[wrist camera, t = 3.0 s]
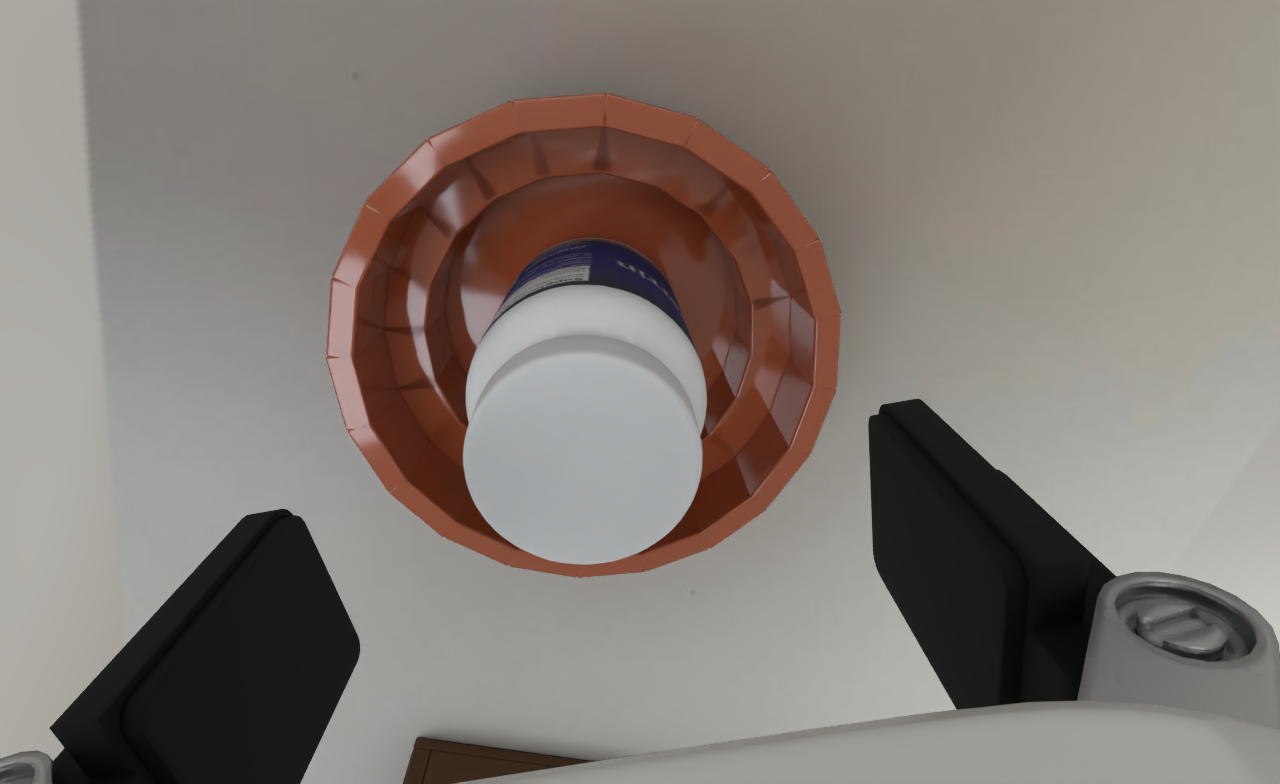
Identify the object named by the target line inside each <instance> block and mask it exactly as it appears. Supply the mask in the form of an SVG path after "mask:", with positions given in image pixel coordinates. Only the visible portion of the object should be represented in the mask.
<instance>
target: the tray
mask: <svg viewBox="0 0 1280 784" xmlns="http://www.w3.org/2000/svg"><path fill="white" fill-rule="evenodd" d="M589 762H590V761H583V760H576V759H568V758H561V757H554V756H546V755H539V754H532V753H525V752H517V751H510V750H503V749H495V748H488V747H481V746H473V745H466V744H459V743H452V742H444V741H437V740H430V739H422V738H417V739H416V741H415V745H414V749H413V752H412V755H411V758H410V761H409V765H408V768H407V771H406V775H405V778H404V781H403V784H454V783H460V782H466V781H473V780H479V779H486V778H492V777H498V776H505V775H511V774H518V773H524V772H531V771H537V770H544V769H550V768H557V767H563V766H570V765H576V764H583V763H589Z"/></svg>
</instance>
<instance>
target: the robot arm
mask: <svg viewBox="0 0 1280 784" xmlns="http://www.w3.org/2000/svg"><path fill="white" fill-rule="evenodd" d="M869 452H870V479H871V507H872V534H873V554H874V560H875V564H876V567H877V570H878V572H879V574H880V576H881V578H882V580H883V582H884V583H885V585H886V587H887V589H888V590H889V592H890V594H891V596H892V597H893V599H894V601H895V603H896V604H897V606H898V608H899V610H900V611H901V613H902V615H903V617H904V618H905V620H906V622H907V624H908V625H909V627H910V629H911V631H912V632H913V634H914V636H915V638H916V639H917V641H918V643H919V645H920V646H921V648H922V650H923V652H924V653H925V655H926V657H927V658H928V660H929V662H930V664H931V665H932V667H933V669H934V671H935V672H936V674H937V676H938V678H939V679H940V681H941V683H942V685H943V686H944V688H945V690H946V692H947V693H948V695H949V697H950V699H951V700H952V702H953V704H954V706H955V707H956V709H957V710H950V711H942V712H933V713H925V714H916V715H909V716H902V717H895V718H888V719H882V720H875V721H868V722H860V723H853V724H845V725H838V726H830V727H823V728H816V729H809V730H803V731H796V732H789V733H782V734H776V735H769V736H762V737H756V738H749V739H742V740H736V741H729V742H722V743H715V744H709V745H702V746H695V747H689V748H682V749H675V750H669V751H662V752H655V753H648V754H642V755H635V756H628V757H622V758H615V759H609V760H602V761H596V762H589V763H583V764H576V765H570V766H563V767H557V768H550V769H544V770H537V771H531V772H524V773H518V774H511V775H505V776H498V777H492V778H486V779H479V780H473V781H466V782H460V783H454V784H1280V652H1279V643H1278V641H1277V638H1276V635H1275V633H1274V630H1273V628H1272V627H1271V625H1270V624H1269V623H1268V622H1267V621H1266V620H1265V619H1264V618H1263V617H1262V615H1261V614H1260V613H1259V612H1258V611H1257V610H1255V609H1254V608H1252V607H1251V606H1250V605H1248V604H1247V603H1245V602H1244V601H1242V600H1241V599H1240V598H1238V597H1237V596H1235V595H1233V594H1231V593H1229V592H1226V591H1224V590H1222V589H1220V588H1218V587H1216V586H1214V585H1212V584H1209V583H1206V582H1202V581H1199V580H1196V579H1193V578H1189V577H1186V576H1181V575H1175V574H1169V573H1162V572H1134V573H1130V574H1126V575H1121V576H1117V577H1116V576H1115V575H1114V574H1113V573H1112V572H1111V571H1110V570H1109V569H1108V568H1107V567H1105V566H1104V565H1103V564H1102V563H1101V562H1100V561H1099V560H1098V559H1097V558H1096V557H1095V556H1094V555H1092V554H1091V553H1090V552H1089V551H1088V550H1087V549H1086V548H1085V547H1084V546H1083V545H1082V544H1081V543H1079V542H1078V541H1077V540H1076V539H1075V538H1074V537H1073V536H1072V535H1071V534H1070V533H1069V532H1068V531H1067V530H1065V529H1064V528H1063V527H1062V526H1061V525H1060V524H1059V523H1058V522H1057V521H1056V520H1055V519H1054V518H1052V517H1051V516H1050V515H1049V514H1048V513H1047V512H1046V511H1045V510H1044V509H1043V508H1042V507H1041V506H1039V505H1038V504H1037V503H1036V502H1035V501H1034V500H1033V499H1032V498H1031V497H1030V496H1029V495H1028V494H1026V493H1025V492H1024V491H1023V490H1022V489H1021V488H1020V487H1019V486H1018V485H1017V484H1016V483H1015V482H1013V481H1012V480H1011V479H1010V478H1009V477H1008V476H1007V475H1006V474H1004V473H1003V472H1001V471H1000V470H996V469H995V468H994V467H993V466H992V465H990V464H989V463H988V462H987V461H986V460H985V459H984V458H983V457H982V456H981V455H980V454H979V453H978V452H977V451H976V450H974V449H973V448H972V447H971V446H970V445H969V444H968V443H967V442H966V441H965V440H964V439H963V438H962V437H961V436H959V435H958V434H957V433H956V432H955V431H954V430H953V429H952V428H951V427H950V426H949V425H948V424H947V423H946V422H945V421H943V420H942V419H941V418H940V417H939V416H938V415H937V414H936V413H935V412H934V411H933V410H932V409H931V408H930V407H928V406H927V405H926V404H925V403H924V402H923V401H922V400H920V399H913V400H907V401H901V402H895V403H890V404H884V405H882V406H881V407H880V410H879V415H873V416H871V417H870V418H869ZM359 654H360V642H359V638H358V635H357V633H356V631H355V629H354V627H353V624H352V622H351V620H350V618H349V616H348V614H347V612H346V609H345V607H344V605H343V603H342V601H341V599H340V597H339V594H338V592H337V590H336V588H335V586H334V584H333V582H332V579H331V577H330V575H329V573H328V571H327V569H326V567H325V564H324V562H323V560H322V558H321V556H320V554H319V552H318V550H317V547H316V545H315V543H314V541H313V539H312V537H311V535H310V532H309V530H308V528H307V526H306V524H305V522H304V521H303V519H302V518H301V517H299V516H296V515H295V516H293V514H292V513H291V512H290V511H288V510H285V509H279V510H274V511H268V512H262V513H256V514H251V515H247V516H245V517H244V518H243V519H241V521H240V522H239V523H238V524H237V525H236V526H235V527H234V528H233V529H232V530H231V531H230V533H229V534H228V535H227V536H226V537H225V538H224V539H223V540H222V541H221V542H220V543H219V544H218V546H217V547H216V548H215V549H214V550H213V551H212V552H211V553H210V554H209V555H208V556H207V558H206V559H205V560H204V561H203V562H202V563H201V564H200V565H199V566H198V567H197V568H196V569H195V571H194V572H193V573H192V574H191V575H190V576H189V577H188V578H187V579H186V580H185V581H184V582H183V584H182V585H181V586H180V587H179V588H178V589H177V590H176V591H175V592H174V593H173V594H172V596H171V597H170V598H169V599H168V600H167V601H166V602H165V603H164V604H163V605H162V606H161V607H160V609H159V610H158V611H157V612H156V613H155V614H154V615H153V616H152V617H151V618H150V619H149V621H148V622H147V623H146V624H145V625H144V626H143V627H142V628H141V629H140V630H139V631H138V632H137V634H136V635H135V636H134V637H133V638H132V639H131V640H130V641H129V642H128V643H127V644H126V646H125V647H124V648H123V649H122V650H121V651H120V652H119V653H118V654H117V655H116V656H115V658H114V659H113V660H112V661H111V662H110V663H109V664H108V665H107V666H106V667H105V668H104V669H103V670H102V672H101V673H100V674H99V675H98V676H97V677H96V678H95V679H94V680H93V682H91V684H90V685H89V686H88V687H87V688H86V689H85V690H84V691H83V692H82V693H81V694H80V695H79V697H78V698H77V699H76V700H75V701H74V702H73V703H72V704H71V705H70V706H69V708H68V709H67V710H66V711H65V712H64V713H63V714H62V715H61V716H60V717H59V718H58V719H57V721H56V722H55V723H54V724H53V725H52V726H51V727H50V729H51V731H52V732H53V733H54V734H55V736H56V737H57V738H58V740H59V741H60V742H61V743H62V745H63V746H64V747H65V748H64V749H63V751H62V752H61V753H60V754H59V755H58V757H57V758H56V759H55V760H54V761H52V759H51V758H50V757H49V756H48V755H47V754H45V753H42V752H39V751H28V752H20V753H17V754H13V755H10V756H7V757H4V758H1V759H0V784H300V783H301V780H302V778H303V776H304V774H305V772H306V770H307V768H308V766H309V763H310V761H311V759H312V757H313V755H314V753H315V751H316V749H317V746H318V744H319V742H320V740H321V738H322V736H323V734H324V732H325V729H326V727H327V725H328V723H329V721H330V719H331V717H332V715H333V712H334V710H335V708H336V706H337V704H338V702H339V700H340V698H341V695H342V693H343V691H344V689H345V687H346V685H347V683H348V681H349V678H350V676H351V674H352V672H353V670H354V668H355V666H356V664H357V661H358V658H359Z"/></svg>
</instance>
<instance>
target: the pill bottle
mask: <svg viewBox="0 0 1280 784" xmlns="http://www.w3.org/2000/svg"><path fill="white" fill-rule="evenodd" d="M706 407H707V392H706V383H705V377H704V373H703V369H702V365H701V362H700V359H699V356H698V353H697V351H696V348H695V346H694V343H693V341H692V339H691V336H690V334H689V331H688V329H687V325H686V323H685V321H684V318H683V315H682V313H681V310H680V308H679V305H678V302H677V300H676V297H675V295H674V293H673V290H672V288H671V286H670V284H669V282H668V281H667V279H666V277H665V276H664V274H663V273H662V272H661V270H660V269H659V268H658V267H657V266H656V265H655V264H654V263H653V262H652V261H651V260H650V259H649V258H648V257H646V256H645V255H644V254H642V253H641V252H639V251H638V250H636V249H634V248H633V247H631V246H629V245H626V244H624V243H621V242H618V241H614V240H610V239H604V238H579V239H573V240H569V241H565V242H562V243H559V244H557V245H554V246H552V247H550V248H548V249H547V250H545V251H543V252H542V253H541V254H539V255H538V256H537V257H535V258H534V259H533V260H532V261H531V262H530V263H529V264H528V265H527V266H526V267H525V268H524V269H523V270H522V272H521V273H520V274H519V276H518V277H517V278H516V280H515V281H514V283H513V285H512V287H511V288H510V290H509V291H508V293H507V295H506V297H505V299H504V300H503V302H502V304H501V306H500V307H499V309H498V311H497V313H496V314H495V316H494V318H493V320H492V321H491V323H490V325H489V327H488V329H487V330H486V332H485V334H484V335H483V337H482V339H481V341H480V343H479V345H478V347H477V349H476V352H475V354H474V357H473V359H472V362H471V365H470V369H469V373H468V377H467V383H466V410H467V417H468V422H469V424H468V428H467V431H466V435H465V441H464V447H463V466H464V473H465V479H466V483H467V486H468V489H469V492H470V494H471V497H472V499H473V501H474V503H475V505H476V507H477V508H478V510H479V511H480V513H481V514H482V516H483V517H484V518H485V520H486V521H487V522H488V523H489V524H490V525H491V527H492V528H493V529H494V530H495V531H496V532H498V533H499V534H500V535H501V536H502V537H504V538H505V539H506V540H508V541H509V542H511V543H512V544H514V545H515V546H517V547H519V548H520V549H522V550H524V551H527V552H529V553H531V554H533V555H536V556H538V557H541V558H544V559H547V560H549V561H555V562H560V563H568V564H583V565H587V564H599V563H606V562H612V561H616V560H619V559H623V558H626V557H629V556H632V555H634V554H637V553H639V552H641V551H643V550H645V549H647V548H648V547H650V546H651V545H653V544H655V543H656V542H657V541H659V540H660V539H662V538H663V537H664V536H666V535H667V534H668V533H669V532H670V531H671V530H672V529H673V528H674V527H675V526H676V525H677V524H678V523H679V522H680V520H681V519H682V518H683V516H684V515H685V513H686V512H687V510H688V508H689V507H690V505H691V503H692V501H693V499H694V497H695V494H696V492H697V489H698V485H699V482H700V478H701V473H702V457H703V451H702V442H701V438H700V435H701V433H702V429H703V426H704V421H705V416H706Z"/></svg>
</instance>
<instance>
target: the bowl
mask: <svg viewBox="0 0 1280 784" xmlns="http://www.w3.org/2000/svg"><path fill="white" fill-rule="evenodd" d="M579 238H604V239H610V240H614V241H618V242H621V243H624V244H626V245H629V246H631V247H633V248H634V249H636V250H638V251H639V252H641V253H642V254H644V255H645V256H646V257H648V258H649V259H650V260H651V261H652V262H653V263H654V264H655V265H656V266H657V267H658V268H659V269H660V270H661V272H662V273H663V274H664V276H665V277H666V279H667V281H668V282H669V284H670V286H671V288H672V290H673V293H674V295H675V297H676V300H677V302H678V305H679V308H680V310H681V313H682V315H683V318H684V321H685V323H686V325H687V329H688V331H689V334H690V336H691V339H692V341H693V343H694V346H695V348H696V351H697V353H698V356H699V359H700V362H701V365H702V369H703V373H704V377H705V383H706V392H707V407H706V416H705V421H704V426H703V429H702V433H701V435H700V438H701V442H702V451H703V457H702V473H701V478H700V482H699V485H698V489H697V492H696V494H695V497H694V499H693V501H692V503H691V505H690V507H689V508H688V510H687V512H686V513H685V515H684V516H683V518H682V519H681V520H680V522H679V523H678V524H677V525H676V526H675V527H674V528H673V529H672V530H671V531H670V532H669V533H668V534H667V535H666V536H664V537H663V538H662V539H660V540H659V541H657V542H656V543H655V544H653V545H651V546H650V547H648V548H647V549H645V550H643V551H641V552H639V553H637V554H634V555H632V556H629V557H626V558H623V559H619V560H616V561H612V562H606V563H599V564H587V565H583V564H568V563H560V562H555V561H549V560H547V559H544V558H541V557H538V556H536V555H533V554H531V553H529V552H527V551H524V550H522V549H520V548H519V547H517V546H515V545H514V544H512V543H511V542H509V541H508V540H506V539H505V538H504V537H502V536H501V535H500V534H499V533H498V532H496V531H495V530H494V529H493V528H492V527H491V525H490V524H489V523H488V522H487V521H486V520H485V518H484V517H483V516H482V514H481V513H480V511H479V510H478V508H477V507H476V505H475V503H474V501H473V499H472V497H471V494H470V492H469V489H468V486H467V483H466V479H465V473H464V466H463V447H464V441H465V435H466V431H467V428H468V424H469V422H468V417H467V410H466V383H467V377H468V373H469V369H470V365H471V362H472V359H473V357H474V354H475V352H476V349H477V347H478V345H479V343H480V341H481V339H482V337H483V335H484V334H485V332H486V330H487V329H488V327H489V325H490V323H491V321H492V320H493V318H494V316H495V314H496V313H497V311H498V309H499V307H500V306H501V304H502V302H503V300H504V299H505V297H506V295H507V293H508V291H509V290H510V288H511V287H512V285H513V283H514V281H515V280H516V278H517V277H518V276H519V274H520V273H521V272H522V270H523V269H524V268H525V267H526V266H527V265H528V264H529V263H530V262H531V261H532V260H533V259H534V258H535V257H537V256H538V255H539V254H541V253H542V252H543V251H545V250H547V249H548V248H550V247H552V246H554V245H557V244H559V243H562V242H565V241H569V240H573V239H579ZM332 277H333V278H332V280H331V289H330V305H329V321H328V337H327V357H326V360H327V363H328V367H329V370H330V374H331V377H332V381H333V384H334V388H335V391H336V395H337V398H338V402H339V405H340V409H341V412H342V416H343V419H344V423H345V426H346V429H347V430H348V433H349V434H350V436H351V437H352V439H353V440H354V442H355V443H356V445H357V446H358V448H359V449H360V451H361V452H362V454H363V455H364V457H365V458H366V460H367V461H368V463H369V464H370V466H371V467H372V469H373V470H374V472H375V473H376V474H377V476H378V477H379V479H380V480H381V482H382V483H383V485H384V486H385V488H386V489H387V490H388V491H389V493H390V494H391V495H392V496H394V497H395V498H396V499H397V500H398V501H400V502H401V503H402V504H403V505H405V506H406V507H407V508H408V509H409V510H411V511H412V512H413V513H414V514H415V515H417V516H418V517H419V518H420V519H422V520H423V521H424V522H425V523H426V524H428V525H429V526H430V527H431V528H432V529H434V530H435V531H436V532H437V533H438V534H440V535H441V536H442V537H445V538H446V539H449V540H451V541H453V542H455V543H458V544H460V545H462V546H464V547H466V548H469V549H471V550H473V551H475V552H478V553H480V554H482V555H484V556H487V557H489V558H491V559H493V560H496V561H498V562H500V563H502V564H505V565H510V566H511V567H516V568H522V569H528V570H534V571H540V572H546V573H552V574H558V575H564V576H571V577H577V576H578V577H579V578H581V577H592V576H603V575H614V574H626V573H637V572H645V570H647V571H649V570H651V569H654V568H657V567H660V566H663V565H665V564H668V563H671V562H674V561H677V560H679V559H682V558H685V557H688V556H690V555H693V554H696V553H699V552H702V551H704V550H707V549H709V547H710V548H712V547H714V546H715V545H717V544H718V543H720V542H721V541H722V540H724V539H725V538H727V537H728V536H730V535H731V534H732V533H734V532H735V531H737V530H738V529H740V528H741V527H742V526H744V525H745V524H747V523H748V522H750V521H751V520H753V519H754V518H755V517H757V516H758V515H760V514H761V513H763V512H764V511H765V510H766V508H767V507H769V505H770V504H771V503H772V502H773V501H774V499H775V498H776V497H777V496H778V494H779V493H780V492H781V491H782V489H783V488H784V487H785V486H786V484H787V483H788V482H789V481H790V479H791V478H792V477H793V476H794V475H795V473H796V472H797V471H798V470H799V468H800V467H801V466H802V465H803V463H804V462H805V461H806V460H807V458H808V457H809V454H811V452H812V450H813V447H814V445H815V442H816V440H817V437H818V435H819V432H820V430H821V427H822V425H823V422H824V419H825V417H826V414H827V412H828V409H829V407H830V404H831V402H832V399H833V397H834V394H835V392H836V386H837V374H838V356H839V339H840V321H841V316H840V314H841V311H840V307H839V304H838V300H837V297H836V293H835V290H834V286H833V283H832V279H831V276H830V272H829V269H828V265H827V262H826V258H825V255H824V251H823V248H822V244H821V241H820V239H819V238H818V236H817V234H816V232H815V231H814V229H813V228H812V227H811V225H810V224H809V222H808V221H807V220H806V218H805V217H804V215H803V214H802V213H801V211H800V210H799V208H798V207H797V206H796V204H795V203H794V201H793V200H792V199H791V197H790V196H789V194H788V193H787V192H786V190H785V189H784V187H783V186H782V185H781V183H780V182H779V180H778V179H777V178H776V176H775V175H774V173H773V172H772V171H770V170H769V168H768V167H767V166H766V165H764V164H763V163H761V162H760V161H758V160H757V159H755V158H754V157H753V156H751V155H750V154H748V153H747V152H745V151H744V150H743V149H741V148H740V147H738V146H737V145H735V144H734V143H733V142H731V141H730V140H728V139H727V138H725V137H724V136H722V135H721V134H720V133H718V132H717V131H715V130H714V129H712V128H711V127H710V126H708V125H707V124H705V123H704V122H702V121H701V120H700V119H696V118H695V117H693V116H689V115H686V114H682V113H678V112H675V111H671V110H668V109H664V108H660V107H657V106H653V105H649V104H646V103H642V102H638V101H635V100H631V99H627V98H624V97H620V96H616V95H613V94H609V93H607V94H605V93H596V94H583V95H570V96H557V97H544V98H531V99H518V100H513V101H508V102H506V103H504V104H502V105H499V106H497V107H495V108H493V109H491V110H488V111H486V112H484V113H482V114H480V115H477V116H475V117H473V118H471V119H469V120H466V121H464V122H462V123H460V124H458V125H455V126H453V127H451V128H449V129H447V130H445V131H442V132H440V133H438V134H436V135H434V136H431V137H429V138H428V139H427V140H425V141H424V142H423V143H422V144H421V145H420V146H419V147H418V148H417V149H416V150H415V151H414V152H413V153H412V154H411V155H410V156H409V157H408V158H407V159H406V160H405V161H404V162H403V163H402V164H401V165H400V166H399V167H398V168H397V169H396V170H395V171H394V172H393V173H392V174H391V175H390V176H389V177H388V178H387V179H386V180H385V181H384V182H383V183H382V184H381V185H380V186H379V187H378V188H377V189H376V190H375V191H374V192H373V193H372V194H371V195H370V196H369V197H368V198H367V199H366V203H365V204H364V205H363V207H362V209H361V211H360V214H359V216H358V218H357V220H356V223H355V225H354V227H353V229H352V232H351V234H350V236H349V238H348V241H347V243H346V245H345V247H344V250H343V252H342V254H341V256H340V259H339V261H338V263H337V265H336V268H335V270H334V272H333V276H332Z"/></svg>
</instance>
